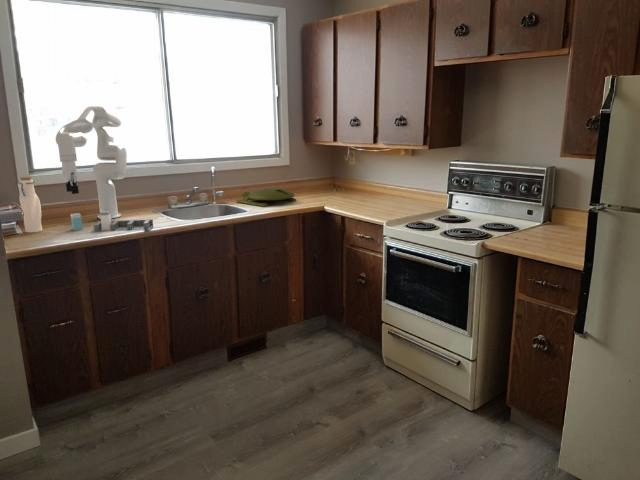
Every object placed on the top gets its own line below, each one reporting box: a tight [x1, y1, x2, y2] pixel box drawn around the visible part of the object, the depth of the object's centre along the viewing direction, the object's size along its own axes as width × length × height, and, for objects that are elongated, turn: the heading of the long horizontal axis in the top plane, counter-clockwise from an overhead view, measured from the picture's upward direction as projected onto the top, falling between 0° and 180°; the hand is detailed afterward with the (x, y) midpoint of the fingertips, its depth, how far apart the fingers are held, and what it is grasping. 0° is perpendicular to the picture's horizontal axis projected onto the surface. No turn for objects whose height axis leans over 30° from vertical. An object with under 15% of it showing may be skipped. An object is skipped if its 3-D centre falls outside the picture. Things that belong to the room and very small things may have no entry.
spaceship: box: [235, 187, 297, 208], centre depth 340 cm, size 35×31×10 cm
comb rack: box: [91, 218, 154, 233], centre depth 264 cm, size 12×28×4 cm, turn 98°
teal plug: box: [70, 212, 84, 231], centre depth 262 cm, size 4×4×9 cm
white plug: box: [99, 211, 112, 230], centre depth 262 cm, size 4×4×9 cm
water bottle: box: [17, 176, 43, 233], centre depth 261 cm, size 10×9×28 cm
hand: (72, 192), depth 258 cm, fingers open, 9 cm apart
